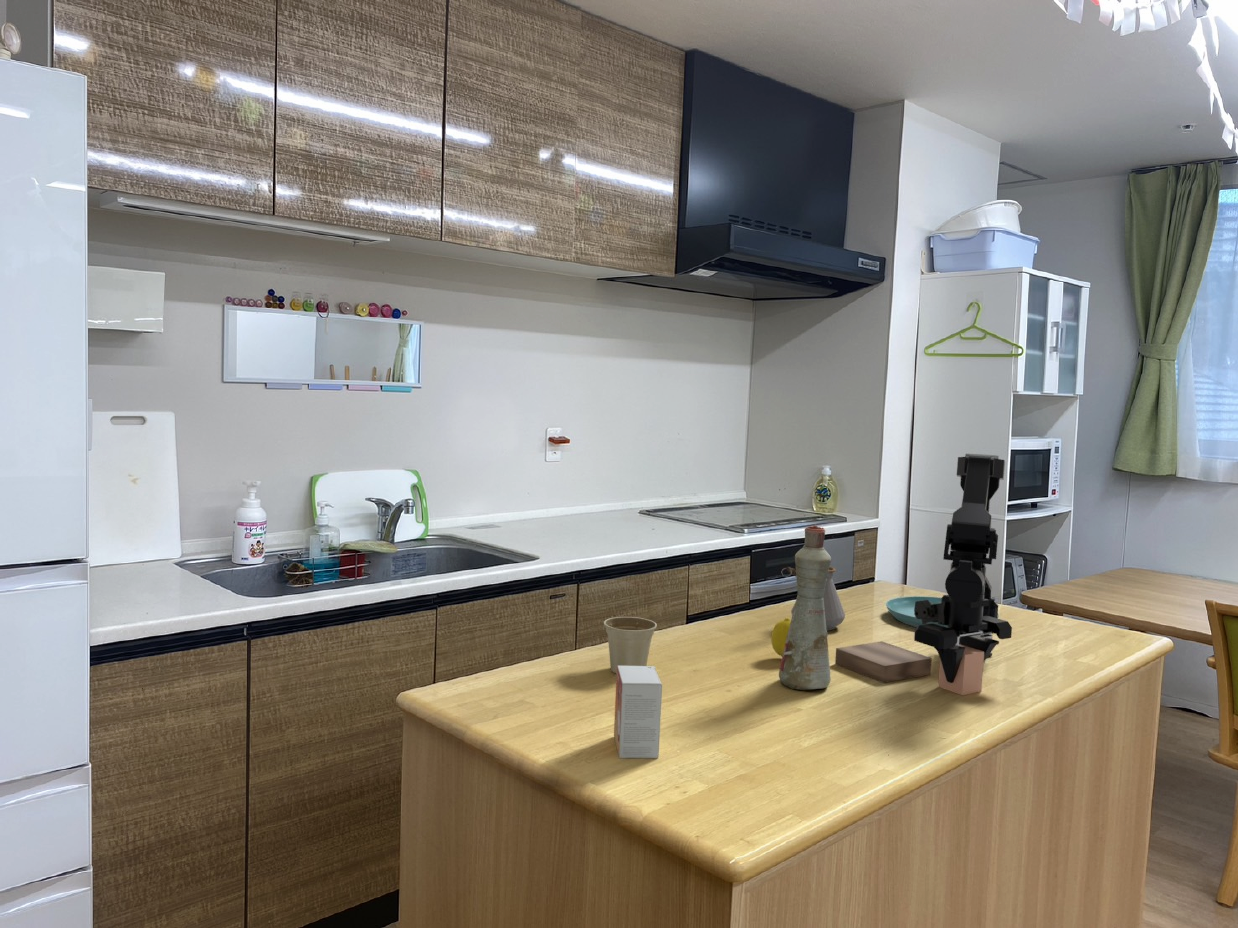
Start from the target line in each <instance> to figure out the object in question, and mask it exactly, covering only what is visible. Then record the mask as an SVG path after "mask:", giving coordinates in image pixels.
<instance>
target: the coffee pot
mask: <svg viewBox="0 0 1238 928" xmlns="http://www.w3.org/2000/svg"><path fill="white" fill-rule="evenodd" d="M784 570H786V571H788V572H789V575H784V574H783V571H784ZM836 571H837V569H836V568H835V567H831V566H830V567H829V573H828V576H827V582H826V586H825V591H824V595H823V599H824V609H825V619H826V630H827V631H833V630H835V629H836V627H837V626H839V625H841V624H842V623H843V622H844V620H845V618H846V614H845V611H844V607H843V605H842V602H841V599H840V597H839V594H838V591H837V589H836V585H835V584H834V580H833V576H834V573H835V572H836ZM781 574H782V576H783V577H786V578H787V577H790V576H791V575H793V576H794V577H796V575H797V574H796V568H793V567H790V566H787V567H784V568H782V570H781ZM795 603H796V601H795ZM795 603H794V604H793V607H792V608H791V615H792V614H793V610H794V607H795Z"/></svg>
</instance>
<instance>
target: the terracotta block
mask: <svg viewBox="0 0 1238 928" xmlns="http://www.w3.org/2000/svg"><path fill="white" fill-rule="evenodd" d="M959 646H962V647H965V650H964V653H963V656H962V659H961V662H960V665H959V668H958V672H957V675H956V677H955V680H954V682H953V683H950V682H947V680H946V676H945V673H944V669H943V666H942V663H941V659H940V658H939V659H940V660H939V671H938V685H937V686H938V688H941V689H944V690H946V691H950V692H952V693H955V694H958V695H960V696H966V695H970V694H976V693H980V692H981V693H982V689H983V676H984V673H983V672H984V664H985V662H984V651H980V650H977V649H974V648H971V647H968V646H964V645H961V644H959Z"/></svg>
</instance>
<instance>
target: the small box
mask: <svg viewBox="0 0 1238 928" xmlns="http://www.w3.org/2000/svg"><path fill="white" fill-rule="evenodd" d="M662 697H663V683H662V682H661V679H660V677H659V675H658V672H657V670H656V666H652V665H647V666H617V674H616V679H615V700H614V701H615V702H614V719H613V720H614V724H613V726H614V727H613V738H614V740H615V745H616V750H617V751H616V752H617V754H618V759H659V758H660V757H659V756H660V754H659V753H660V735H661V717H662V701H663V700H662Z"/></svg>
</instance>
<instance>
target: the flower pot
mask: <svg viewBox="0 0 1238 928" xmlns="http://www.w3.org/2000/svg"><path fill="white" fill-rule="evenodd" d="M603 627H605V632H606V633H607V640H608V641H607V642H608V653H609V654H608V655H609V664H610V671H611V672H612V673H614V674H616V675H617V666H648V665H647V664H648V661H649V655H650V648H651V642H652V639H653V636H654V634H655V630H656V629H657V627H658V624H657V622H655V621H653V620H651V619H648V618H647V619H646V618H642V617H636V616H616V617H615V616H614V617H610V618H607V619H605V620H604V621H603Z"/></svg>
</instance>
